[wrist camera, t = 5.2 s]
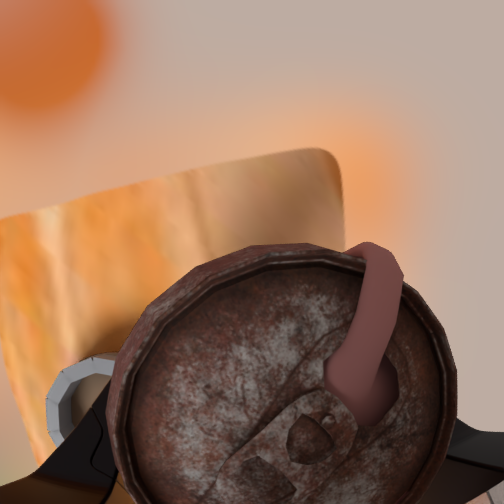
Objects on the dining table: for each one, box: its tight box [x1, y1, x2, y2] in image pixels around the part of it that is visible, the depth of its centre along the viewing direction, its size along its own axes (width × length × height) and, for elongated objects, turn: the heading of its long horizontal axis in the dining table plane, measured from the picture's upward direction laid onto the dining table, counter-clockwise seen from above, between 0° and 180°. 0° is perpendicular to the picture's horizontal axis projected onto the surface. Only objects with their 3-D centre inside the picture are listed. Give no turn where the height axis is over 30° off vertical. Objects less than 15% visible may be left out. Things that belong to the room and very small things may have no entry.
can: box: [105, 242, 457, 504], centre depth 10 cm, size 6×6×14 cm
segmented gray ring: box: [46, 352, 119, 448], centre depth 18 cm, size 10×10×4 cm
